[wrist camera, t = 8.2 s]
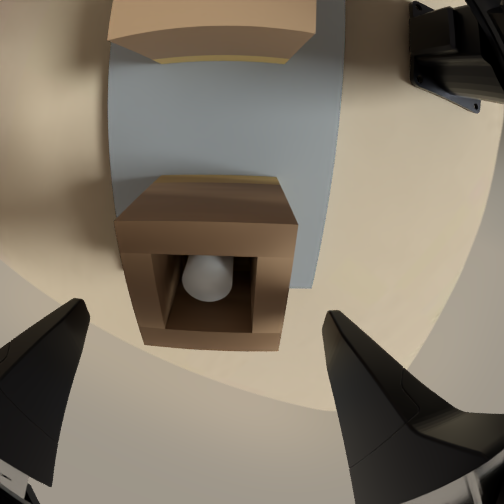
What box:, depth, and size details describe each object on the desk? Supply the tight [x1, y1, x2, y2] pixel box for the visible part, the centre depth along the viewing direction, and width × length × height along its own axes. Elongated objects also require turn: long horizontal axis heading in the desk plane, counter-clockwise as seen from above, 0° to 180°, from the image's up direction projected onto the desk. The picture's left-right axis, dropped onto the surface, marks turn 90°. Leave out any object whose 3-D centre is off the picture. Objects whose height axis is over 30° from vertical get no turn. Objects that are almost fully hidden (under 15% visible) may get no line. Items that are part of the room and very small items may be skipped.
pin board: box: [107, 0, 345, 302], centre depth 10 cm, size 20×12×7 cm, turn 177°
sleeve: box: [114, 175, 298, 351], centre depth 12 cm, size 6×6×6 cm
